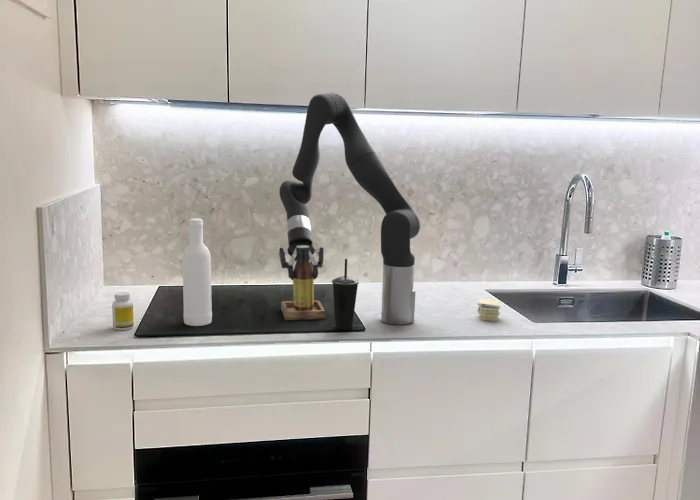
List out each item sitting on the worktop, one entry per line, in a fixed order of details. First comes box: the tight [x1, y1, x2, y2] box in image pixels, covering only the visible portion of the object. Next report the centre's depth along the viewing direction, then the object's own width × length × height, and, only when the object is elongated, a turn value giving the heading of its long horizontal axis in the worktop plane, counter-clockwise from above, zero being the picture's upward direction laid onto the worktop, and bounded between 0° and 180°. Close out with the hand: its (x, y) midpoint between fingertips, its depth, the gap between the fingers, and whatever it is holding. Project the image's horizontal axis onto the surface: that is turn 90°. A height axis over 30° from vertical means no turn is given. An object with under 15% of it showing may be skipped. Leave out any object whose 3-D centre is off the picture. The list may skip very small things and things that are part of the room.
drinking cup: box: [331, 258, 360, 331], centre depth 177 cm, size 8×8×20 cm
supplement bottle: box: [111, 291, 135, 331], centre depth 173 cm, size 5×5×10 cm
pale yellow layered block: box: [476, 298, 501, 322], centre depth 192 cm, size 10×9×6 cm
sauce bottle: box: [292, 245, 315, 311], centre depth 190 cm, size 6×6×20 cm
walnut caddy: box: [280, 300, 326, 321], centre depth 191 cm, size 12×12×2 cm
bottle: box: [182, 217, 213, 327], centre depth 178 cm, size 8×8×30 cm
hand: (303, 278), depth 188 cm, fingers closed on sauce bottle, 6 cm apart
